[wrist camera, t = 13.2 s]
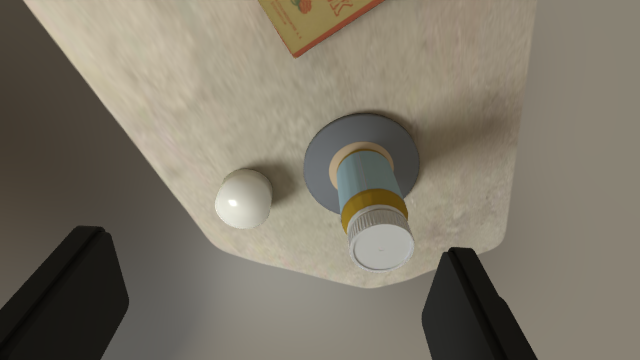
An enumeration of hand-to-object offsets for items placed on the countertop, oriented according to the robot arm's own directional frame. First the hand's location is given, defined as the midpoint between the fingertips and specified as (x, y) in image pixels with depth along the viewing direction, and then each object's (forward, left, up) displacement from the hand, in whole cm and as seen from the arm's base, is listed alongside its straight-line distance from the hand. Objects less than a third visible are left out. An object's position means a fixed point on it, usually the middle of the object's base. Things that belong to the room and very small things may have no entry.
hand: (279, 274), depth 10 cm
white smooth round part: (+20, -7, -34) cm, 40 cm away
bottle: (+15, +8, -33) cm, 37 cm away
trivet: (+15, +8, -34) cm, 38 cm away
